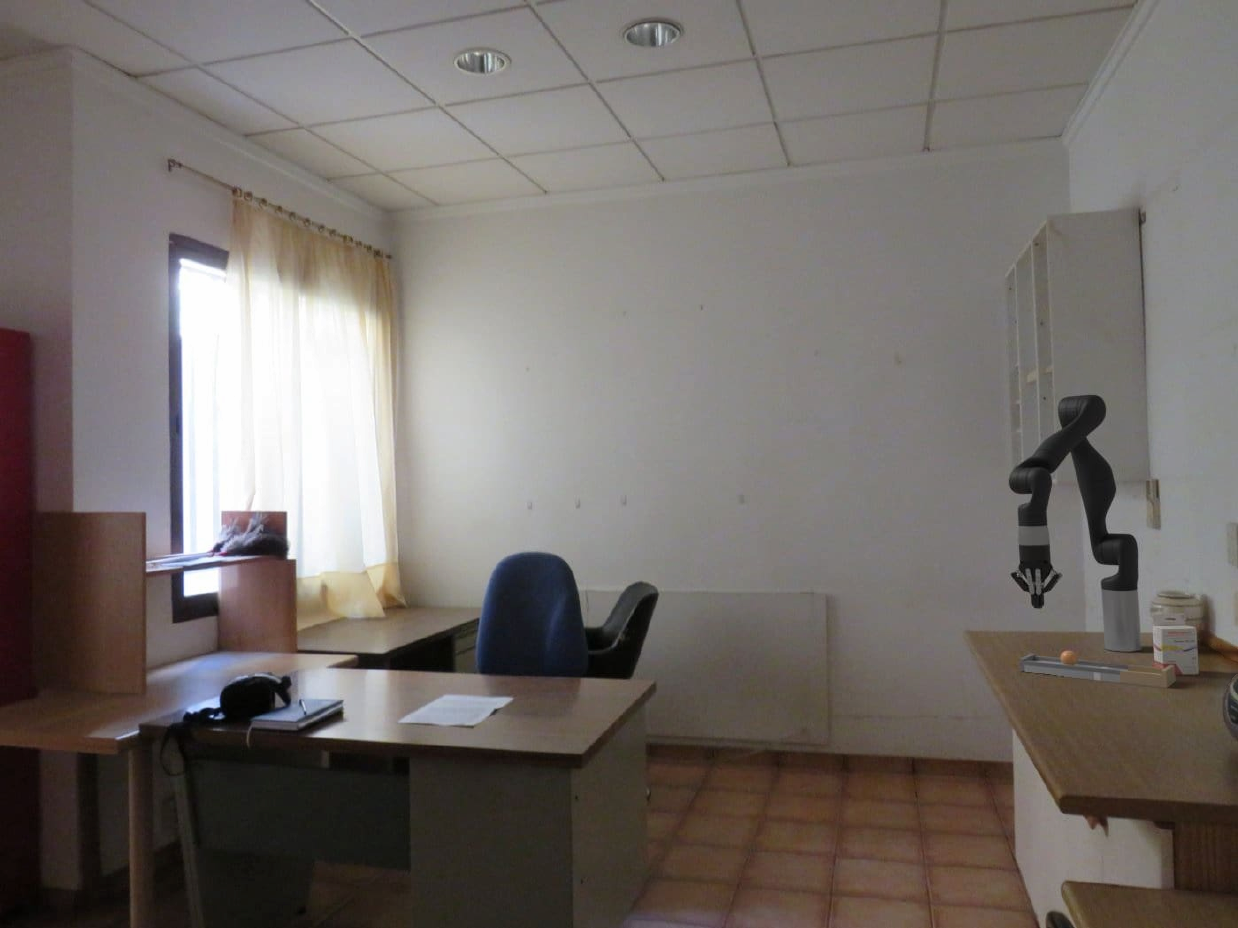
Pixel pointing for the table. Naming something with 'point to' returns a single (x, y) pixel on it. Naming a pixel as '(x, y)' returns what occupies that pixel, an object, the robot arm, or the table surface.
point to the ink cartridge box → (1175, 643)
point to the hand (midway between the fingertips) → (1038, 608)
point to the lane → (1101, 671)
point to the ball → (1069, 658)
